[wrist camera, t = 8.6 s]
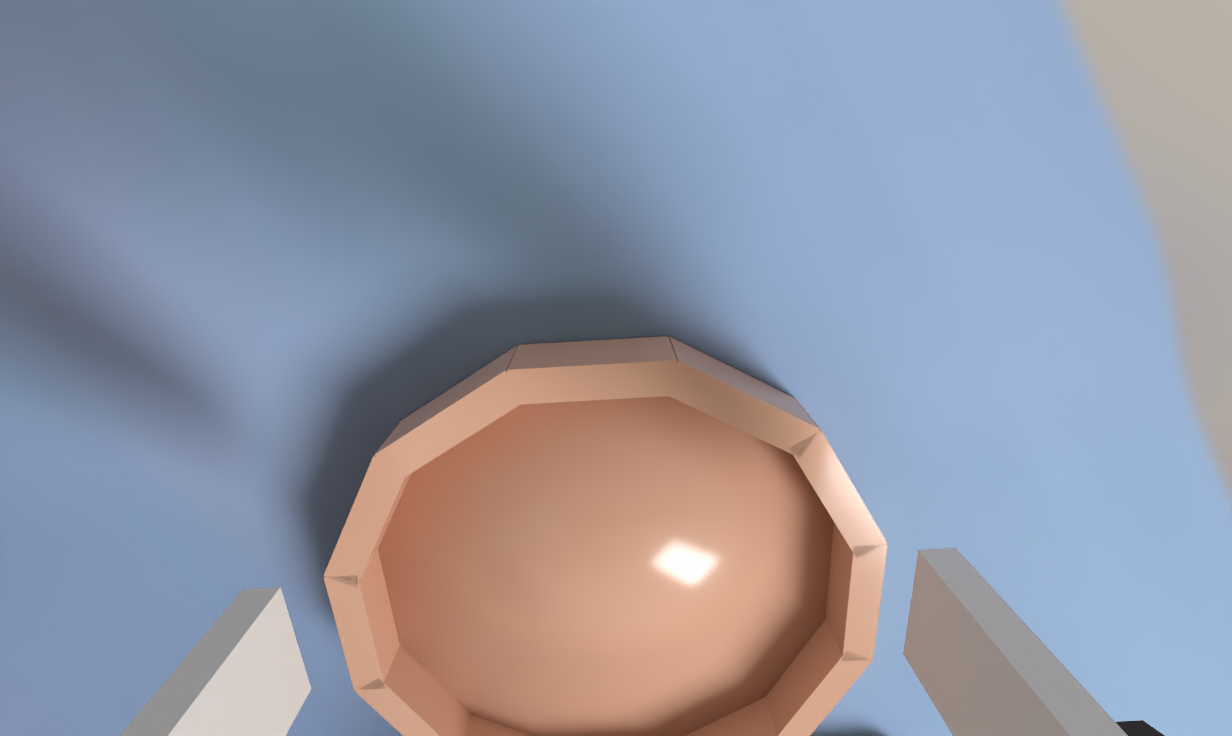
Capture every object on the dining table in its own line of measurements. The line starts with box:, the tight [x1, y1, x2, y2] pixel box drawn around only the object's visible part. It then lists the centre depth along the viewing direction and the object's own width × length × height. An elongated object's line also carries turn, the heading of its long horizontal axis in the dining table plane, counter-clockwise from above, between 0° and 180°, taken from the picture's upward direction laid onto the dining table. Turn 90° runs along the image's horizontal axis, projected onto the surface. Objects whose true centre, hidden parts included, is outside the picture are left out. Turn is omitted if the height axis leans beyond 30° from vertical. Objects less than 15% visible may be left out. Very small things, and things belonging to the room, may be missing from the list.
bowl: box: [324, 336, 887, 736], centre depth 17 cm, size 15×15×2 cm
